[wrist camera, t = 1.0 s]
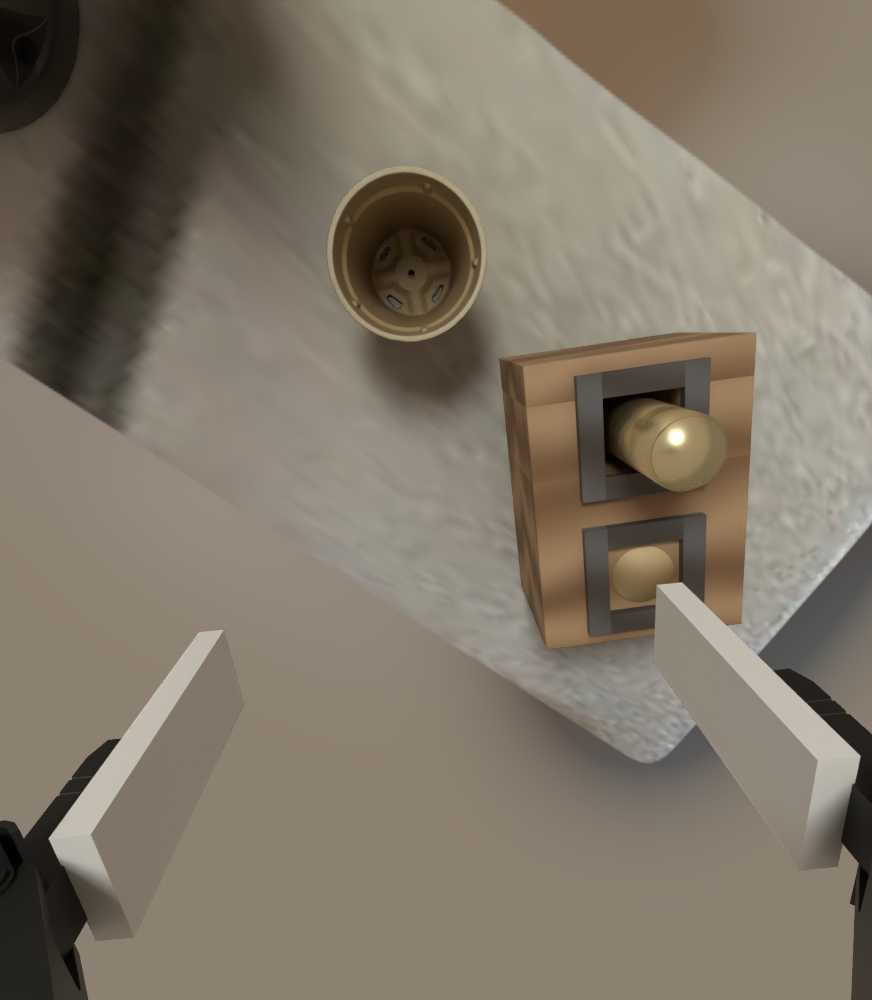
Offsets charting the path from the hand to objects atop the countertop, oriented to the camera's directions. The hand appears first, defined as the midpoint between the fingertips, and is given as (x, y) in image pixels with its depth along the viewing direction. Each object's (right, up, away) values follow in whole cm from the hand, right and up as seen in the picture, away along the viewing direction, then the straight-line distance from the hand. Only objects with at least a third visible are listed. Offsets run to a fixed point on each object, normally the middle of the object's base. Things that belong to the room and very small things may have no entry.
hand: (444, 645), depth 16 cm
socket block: (+13, +7, +28) cm, 31 cm away
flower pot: (-2, +21, +23) cm, 31 cm away
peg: (+13, +9, +19) cm, 24 cm away
